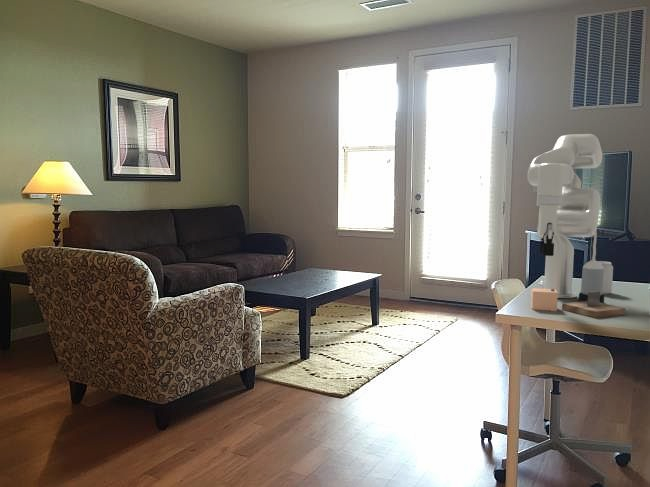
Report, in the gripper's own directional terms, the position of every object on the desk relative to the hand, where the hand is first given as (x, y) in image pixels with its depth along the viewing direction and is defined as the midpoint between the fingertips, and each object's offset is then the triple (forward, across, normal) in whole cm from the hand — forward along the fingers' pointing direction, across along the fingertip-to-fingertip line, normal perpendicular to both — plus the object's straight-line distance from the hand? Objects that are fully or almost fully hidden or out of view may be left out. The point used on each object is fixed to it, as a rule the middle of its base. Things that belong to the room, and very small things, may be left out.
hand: (546, 254), depth 182 cm
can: (+18, -37, +24) cm, 48 cm away
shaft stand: (+18, 0, +15) cm, 23 cm away
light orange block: (+18, 0, 0) cm, 18 cm away
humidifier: (+18, -16, +17) cm, 29 cm away
